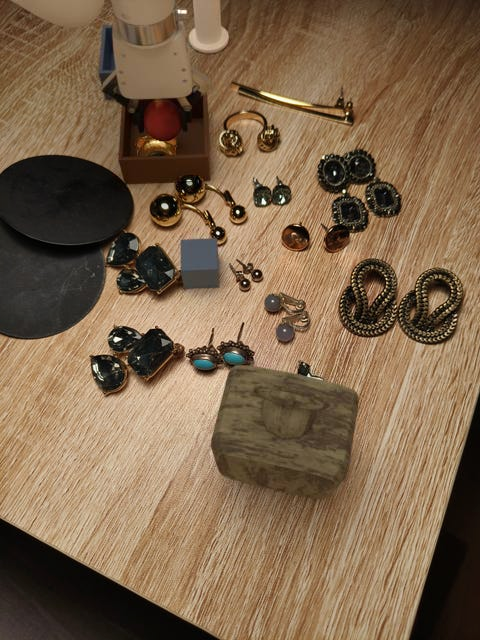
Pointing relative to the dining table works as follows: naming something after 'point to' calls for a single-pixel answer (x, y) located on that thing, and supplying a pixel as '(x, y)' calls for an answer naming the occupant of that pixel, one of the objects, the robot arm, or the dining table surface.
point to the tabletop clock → (284, 431)
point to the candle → (208, 27)
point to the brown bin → (168, 167)
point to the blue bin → (106, 55)
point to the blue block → (200, 263)
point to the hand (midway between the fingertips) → (163, 124)
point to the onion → (162, 120)
